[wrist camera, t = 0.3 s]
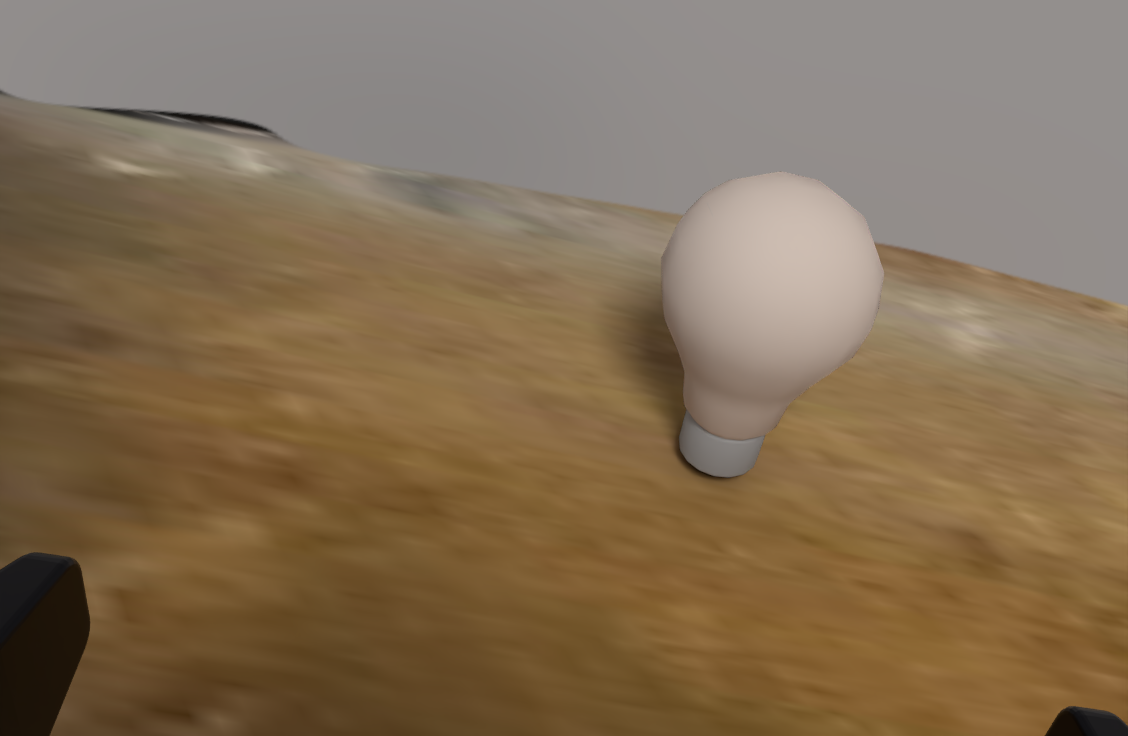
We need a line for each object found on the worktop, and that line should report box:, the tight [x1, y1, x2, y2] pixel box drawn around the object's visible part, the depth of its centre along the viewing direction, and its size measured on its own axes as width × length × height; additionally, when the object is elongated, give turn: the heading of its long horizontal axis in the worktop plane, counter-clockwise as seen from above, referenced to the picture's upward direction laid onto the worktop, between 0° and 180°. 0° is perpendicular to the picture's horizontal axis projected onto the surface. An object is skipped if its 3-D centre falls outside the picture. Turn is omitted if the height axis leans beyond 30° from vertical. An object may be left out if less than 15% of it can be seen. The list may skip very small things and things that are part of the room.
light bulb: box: [662, 171, 884, 478], centre depth 32 cm, size 7×7×11 cm
